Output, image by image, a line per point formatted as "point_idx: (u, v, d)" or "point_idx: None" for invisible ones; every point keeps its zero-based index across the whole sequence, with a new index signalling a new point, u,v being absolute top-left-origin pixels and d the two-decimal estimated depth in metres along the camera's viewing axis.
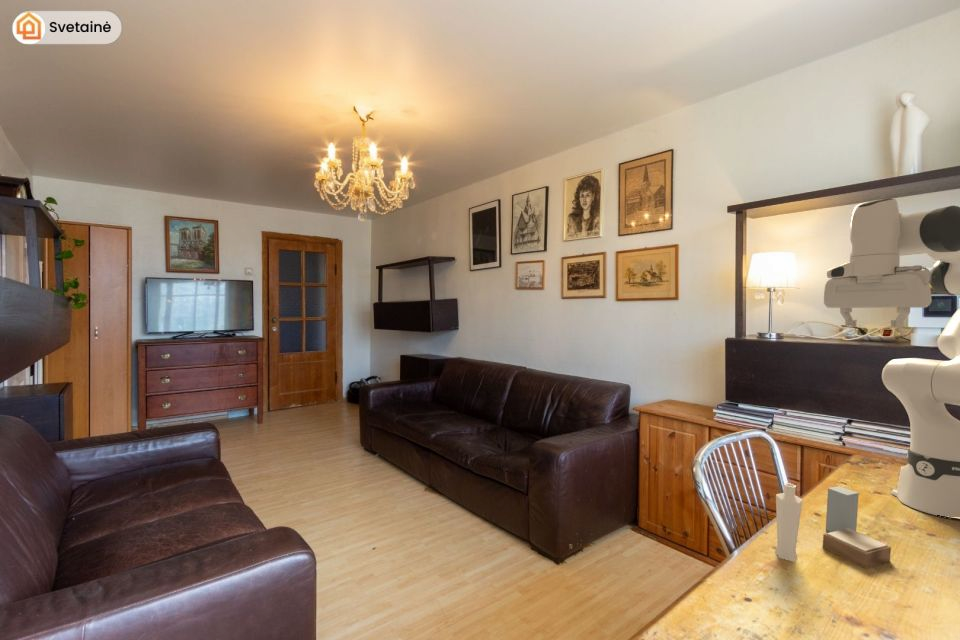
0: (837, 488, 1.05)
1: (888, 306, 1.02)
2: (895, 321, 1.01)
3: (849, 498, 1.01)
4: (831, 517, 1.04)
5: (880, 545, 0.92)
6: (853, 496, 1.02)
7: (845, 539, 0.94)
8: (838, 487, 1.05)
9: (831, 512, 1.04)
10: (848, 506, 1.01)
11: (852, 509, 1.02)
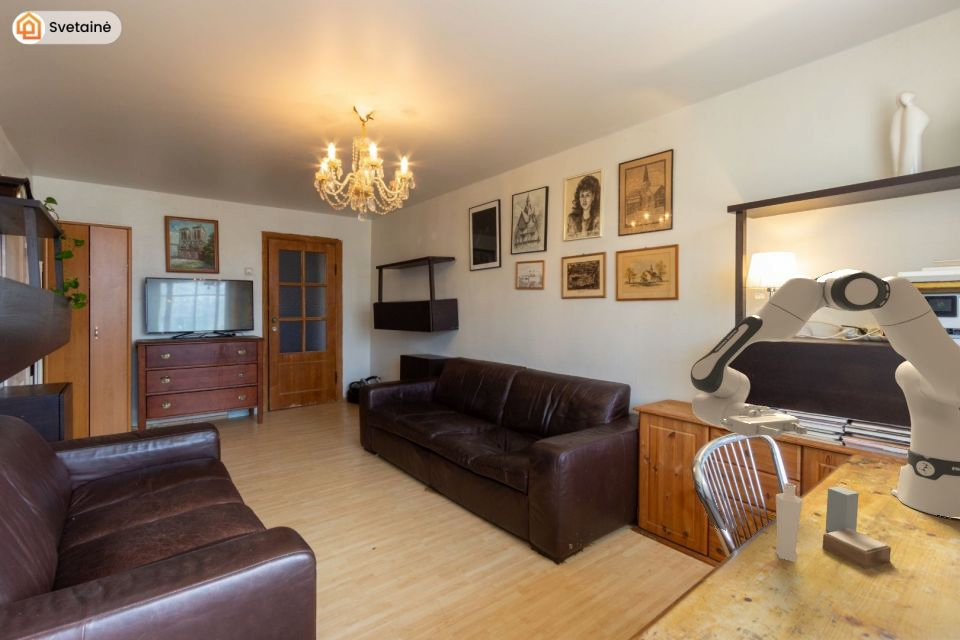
0: (837, 488, 1.05)
1: None
2: None
3: (849, 498, 1.01)
4: (831, 517, 1.04)
5: (880, 545, 0.92)
6: (853, 496, 1.02)
7: (845, 539, 0.94)
8: (838, 487, 1.05)
9: (831, 512, 1.04)
10: (848, 506, 1.01)
11: (852, 509, 1.02)
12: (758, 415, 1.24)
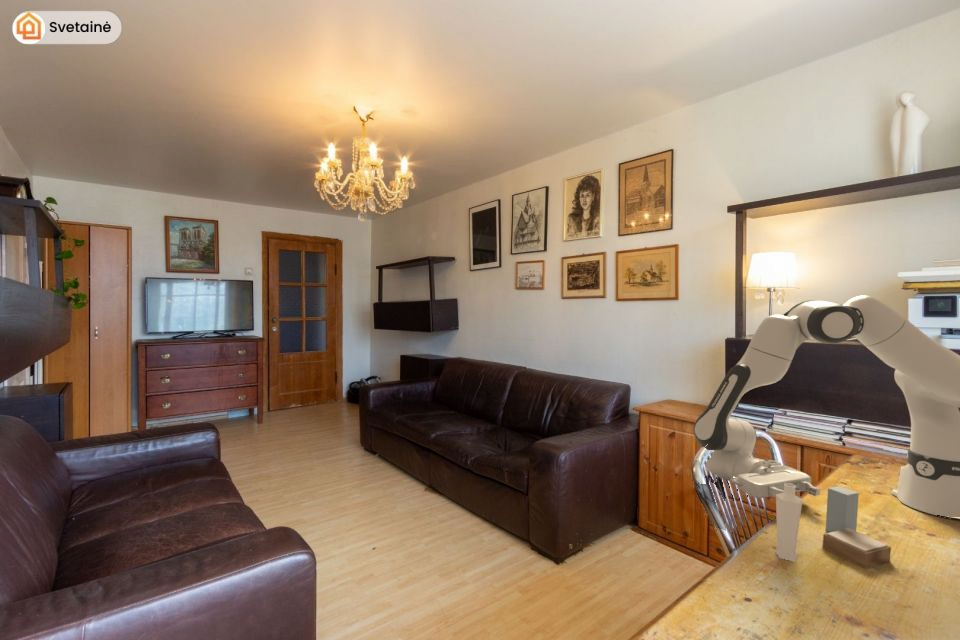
0: (837, 488, 1.05)
1: None
2: None
3: (849, 498, 1.01)
4: (831, 517, 1.04)
5: (880, 545, 0.92)
6: (853, 496, 1.02)
7: (845, 539, 0.94)
8: (838, 487, 1.05)
9: (831, 512, 1.04)
10: (848, 506, 1.01)
11: (852, 509, 1.02)
12: (769, 472, 1.22)
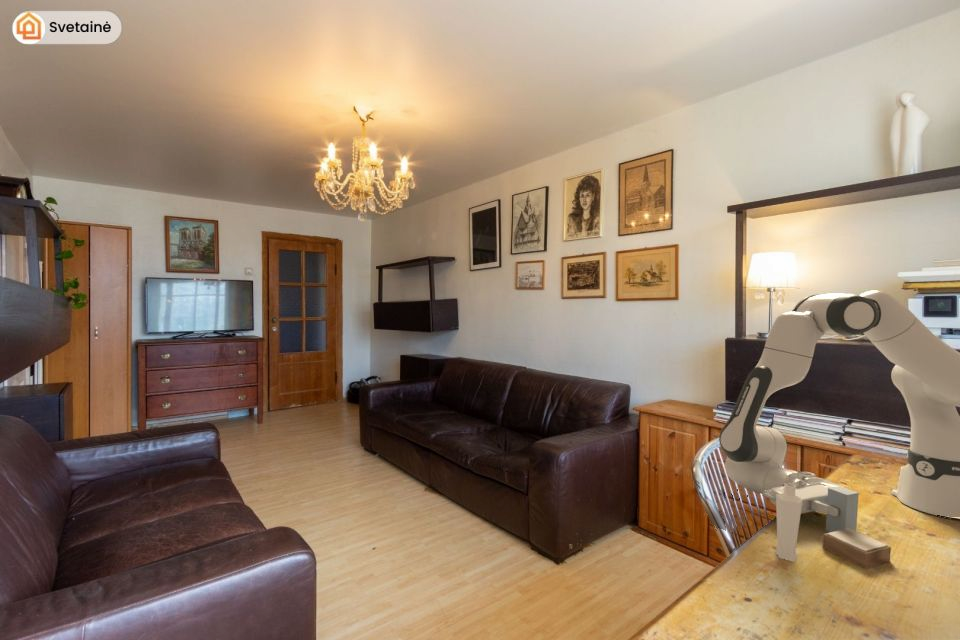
0: (837, 488, 1.05)
1: None
2: None
3: (849, 498, 1.01)
4: (831, 517, 1.04)
5: (880, 545, 0.92)
6: (853, 496, 1.02)
7: (845, 539, 0.94)
8: (838, 487, 1.05)
9: None
10: (848, 506, 1.01)
11: (852, 509, 1.02)
12: (803, 485, 1.13)
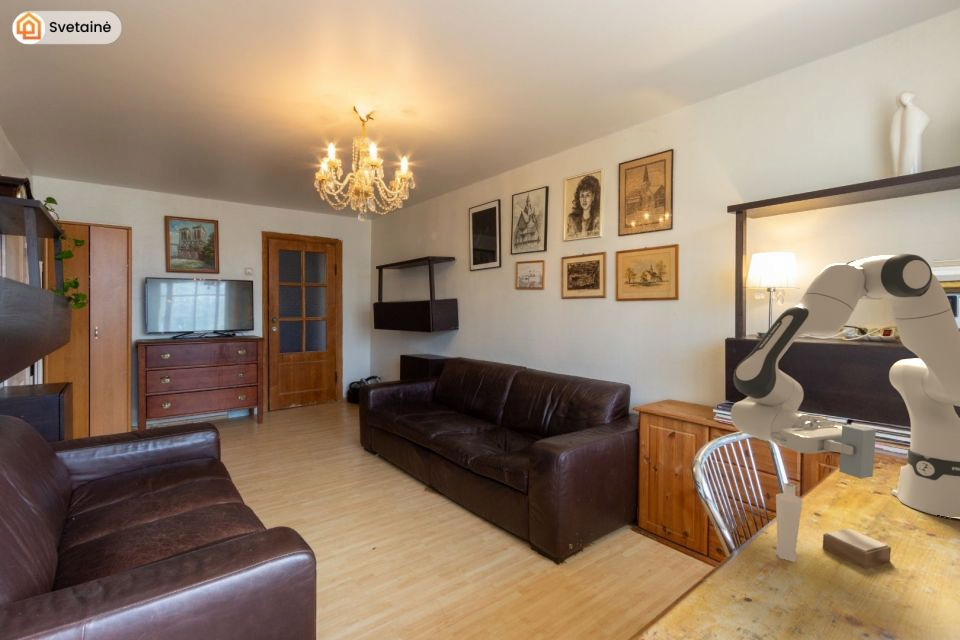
0: (852, 426, 0.96)
1: (824, 451, 0.98)
2: None
3: (866, 434, 0.93)
4: (845, 456, 0.96)
5: (880, 545, 0.92)
6: (870, 432, 0.93)
7: (845, 539, 0.94)
8: (854, 425, 0.97)
9: None
10: (865, 443, 0.93)
11: (869, 447, 0.93)
12: (815, 427, 1.04)
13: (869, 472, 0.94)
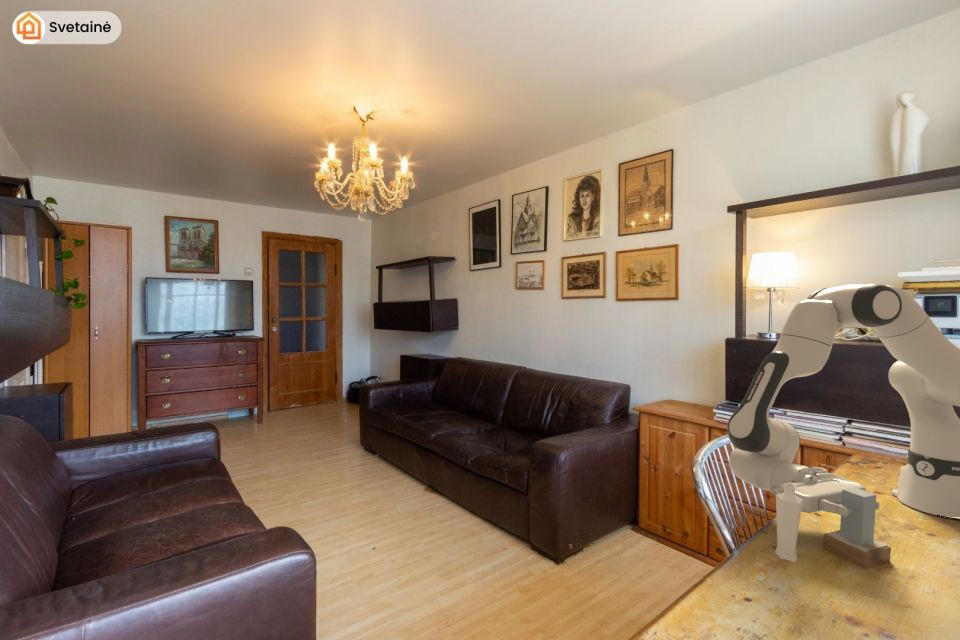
0: (852, 489, 0.95)
1: None
2: None
3: (867, 500, 0.92)
4: (846, 521, 0.95)
5: (880, 545, 0.92)
6: (870, 498, 0.93)
7: (845, 539, 0.94)
8: (854, 488, 0.96)
9: (845, 516, 0.95)
10: (865, 510, 0.92)
11: (869, 513, 0.93)
12: (815, 481, 1.04)
13: (869, 538, 0.93)
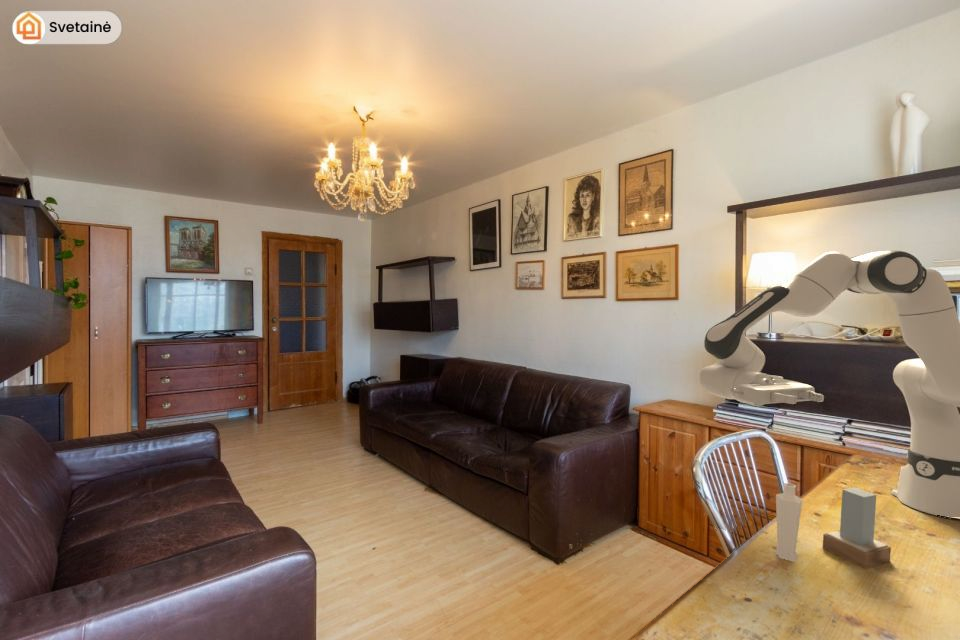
0: (852, 489, 0.95)
1: (776, 402, 1.10)
2: None
3: (867, 500, 0.92)
4: (846, 521, 0.95)
5: (880, 545, 0.92)
6: (870, 498, 0.93)
7: (845, 539, 0.94)
8: (854, 488, 0.96)
9: (845, 516, 0.95)
10: (865, 510, 0.92)
11: (869, 513, 0.93)
12: (770, 384, 1.17)
13: (869, 538, 0.93)
